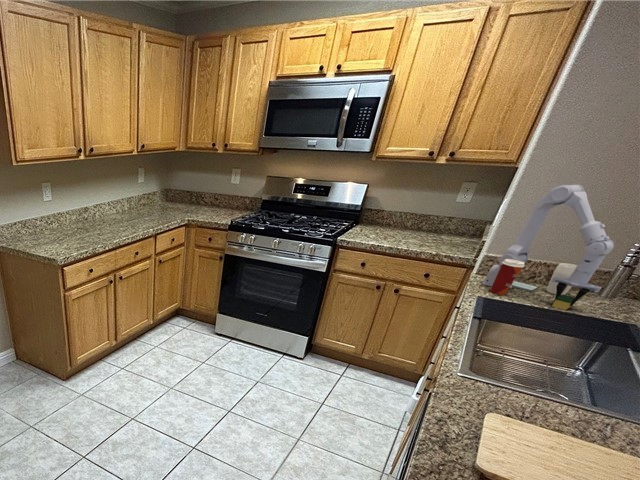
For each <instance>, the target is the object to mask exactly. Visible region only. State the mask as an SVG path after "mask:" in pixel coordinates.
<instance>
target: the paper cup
mask: <svg viewBox="0 0 640 480" xmlns="http://www.w3.org/2000/svg"><path fill="white" fill-rule="evenodd" d="M502 263H503V264H502V266H501V268H500V270H499V272H498V274H497V276H496V279H495V281H494V283H493V285H492V287H491V286H490V287H491V288H490V290H489V292H490V293H492V294H495V295H499V296H505V295H506V294H507V293H508V291H509V290H510V289H511V288H510V286H511V285H512V283H513V282H514V281H516V279H517V277H518V276H519V274H520V273H521V271H522V269H523V268H525V264H526V263H524V262H522V261H518V260H513V259H505V260H504V261H503V262H502ZM509 288H510V289H509Z"/></svg>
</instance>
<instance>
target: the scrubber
mask: <svg viewBox="0 0 640 480" xmlns="http://www.w3.org/2000/svg"><path fill="white" fill-rule="evenodd" d="M575 297H576V296H573V295H568V294H565V295H564V294H562V295H561V296H559V297H557V299H556V300H555V299H554V300H555V302H554V301H553V303H552V305H551V307H552V308H555V309H558V310H559V309H560V310H563V311H567V310H568V309H570V308H571V307H572V306H570V304H571V302H572V301H573V300H574V298H575Z"/></svg>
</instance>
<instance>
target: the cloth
mask: <svg viewBox="0 0 640 480" xmlns="http://www.w3.org/2000/svg"><path fill="white" fill-rule="evenodd" d="M511 286H512V288H517V289H519V290H524V291H528V292H532V291H534V290H535V291H536V289H538V286H535V285H531V284H527V283H523V282H520V281H516V280H514V282H513V283H512V285H511Z"/></svg>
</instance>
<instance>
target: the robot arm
mask: <svg viewBox="0 0 640 480" xmlns="http://www.w3.org/2000/svg"><path fill="white" fill-rule="evenodd" d="M560 205H564V206H567V207H570V208H572V209H573V210H574V212H575V214H576V216H577V218H578V221H579V222H580V224H581V227H580V229H579V233H580V235H581V237H582V239H583V240H582V241H583V242H584V243H585V245H586V246H585V248H584V255H583V256H582V258H581V259H580V260H579V262H578V264H576V265H577V267H576V268H575V270H574V271H573V273H572V274H571V276H570V278H569V279H567V278H561V277H556V276H555V277H553V279H552V281H551V282H557V283H558V285H557V286H556V289H557V290H556V294H555V297H554V300H553V303H554V302H555V300H556V299H557V297H559V296H561V294H562V293H563V291H564V290H565V288H566V287H567V286H568V285H569V286H572V288H573V287H574V288H578V289H579V290H578V292H577V294H576V295H575V296H574V297H575V298H574V300H573V301H572V302H571V304H570V306H571V307H573V306H574V305H575V303H576V302H578V301H579V300H580V299H581V298H582V297H584V296H585V295H587V294H588V293H590V292H593V293H596V294H597V293H599V292H600V291H601V289H602V286H599V285H595V284H592V283H589V281H590V280H591V278H592V277H593V276H594V274H595V273H596V271H597V270H598V268H599V267H600V266H601V264H602V262H603V260H604V259H605V258H606V256H607V255H608V254H610V253H611V252H612V251H613V250H614V249H615V241H613V240H612V239H610V236H609V235H607V233H606V230H605V229H604V228H605V227H606V225H605V223H602V222H601V221H597V220H595V217H594V215H593V211H592V209H591V205H590V203H589V200H588V194H587V192H586V191H585V189H584V186H582V185H581V184H568V185H567V184H561V185H559V186H556V187H553V188H551V189H550V190H549V192H547V193H546V194H545V195H543V196H542V197H541V198H540V199H538V201H537V202H536V203H535V205H534V207H533V208H532V210H531V212H530V214H529V216H528V217H527V220H526V221H525V222H524V225H523V227H522V229H521V230H520V232H519V234H518V236H517V238H516V239H515V242H514V243H513V245H511V246H510V247H509V248H507V250H506V251H505V253H504V254H502V255H501V256H500V257H499V259H498V264H493V265H492V266H491V268H489V271H488V272H487V274H486V277H485V278H484V280H483V282H482V283H481V284H482V285H484V286H488V287H492V285H493V283H494V281H495V279H496V276H497V274H498V272H499V270H500V268H501V266H502V264H503V263H502V262H503V261H504V260H505V259H513V260H518V261H522V262H524V263H525V264H526V263H527V262H528V260H529V254H530V252H531V249H530V247H531V245H532V243H533V241H534V239H535V238H536V236H537V234H538V233H539V231H540V229H541V227H542V226H543V223H544V222H545V220H546V218H547V216H548V214H549V213H550V211H551V210H552V209H553V208H556V207H557V206H560ZM511 288H513V287H512V286H510V288H509V289H508V290H510V289H511Z"/></svg>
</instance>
